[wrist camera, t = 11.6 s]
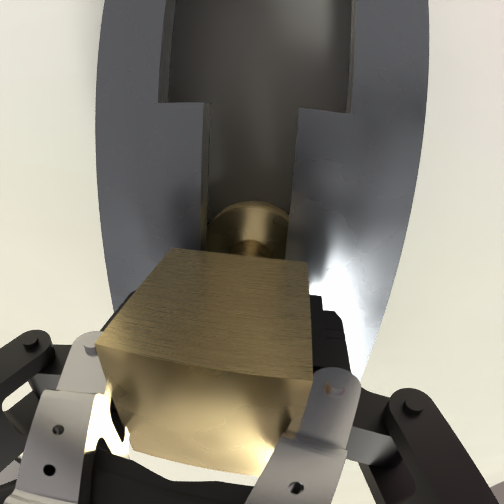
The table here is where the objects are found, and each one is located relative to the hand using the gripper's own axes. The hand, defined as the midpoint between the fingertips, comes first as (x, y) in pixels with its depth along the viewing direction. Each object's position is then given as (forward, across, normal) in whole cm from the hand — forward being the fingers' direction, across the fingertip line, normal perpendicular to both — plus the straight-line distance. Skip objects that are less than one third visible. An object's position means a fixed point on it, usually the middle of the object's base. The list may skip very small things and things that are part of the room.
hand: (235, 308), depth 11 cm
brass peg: (+5, 0, 0) cm, 5 cm away
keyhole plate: (+5, 0, -5) cm, 8 cm away
